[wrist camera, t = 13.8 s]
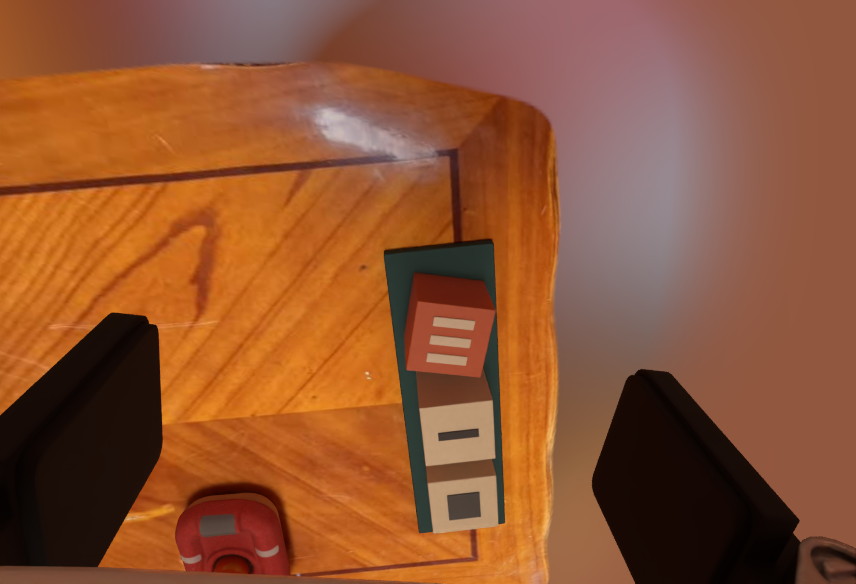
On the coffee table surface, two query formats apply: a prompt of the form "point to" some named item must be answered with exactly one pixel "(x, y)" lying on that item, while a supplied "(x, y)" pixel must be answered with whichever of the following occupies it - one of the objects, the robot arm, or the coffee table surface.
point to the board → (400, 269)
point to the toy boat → (232, 536)
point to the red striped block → (448, 325)
